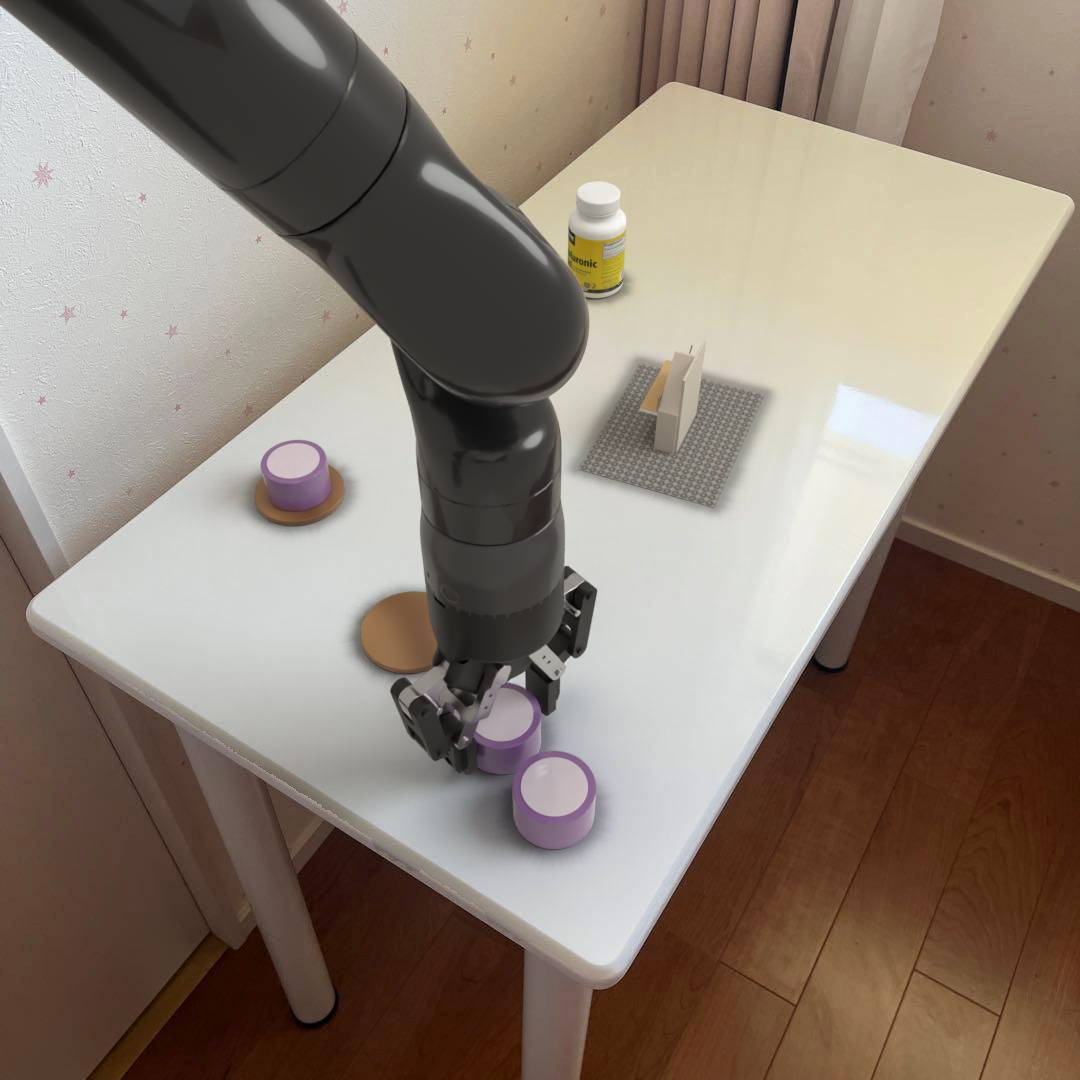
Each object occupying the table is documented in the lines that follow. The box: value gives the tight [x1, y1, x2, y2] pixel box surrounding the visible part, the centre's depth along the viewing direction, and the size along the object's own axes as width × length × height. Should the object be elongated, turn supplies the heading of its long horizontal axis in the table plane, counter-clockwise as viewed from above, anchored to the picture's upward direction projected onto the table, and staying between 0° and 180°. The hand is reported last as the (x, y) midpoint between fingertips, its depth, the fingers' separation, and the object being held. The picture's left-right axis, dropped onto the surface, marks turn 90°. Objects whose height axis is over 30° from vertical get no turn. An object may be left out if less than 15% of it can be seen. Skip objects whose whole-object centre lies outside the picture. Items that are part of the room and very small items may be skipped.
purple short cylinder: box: [259, 439, 332, 511], centre depth 85 cm, size 5×5×3 cm
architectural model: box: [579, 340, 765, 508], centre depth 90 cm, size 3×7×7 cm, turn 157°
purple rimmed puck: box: [511, 750, 597, 850], centre depth 67 cm, size 5×5×3 cm
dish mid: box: [473, 682, 542, 775], centre depth 70 cm, size 5×5×3 cm
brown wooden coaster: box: [359, 590, 437, 675], centre depth 77 cm, size 7×7×1 cm
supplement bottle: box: [567, 180, 628, 299], centre depth 103 cm, size 5×5×10 cm
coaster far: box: [253, 464, 346, 527], centre depth 87 cm, size 7×7×1 cm
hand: (502, 733), depth 71 cm, fingers open, 6 cm apart
